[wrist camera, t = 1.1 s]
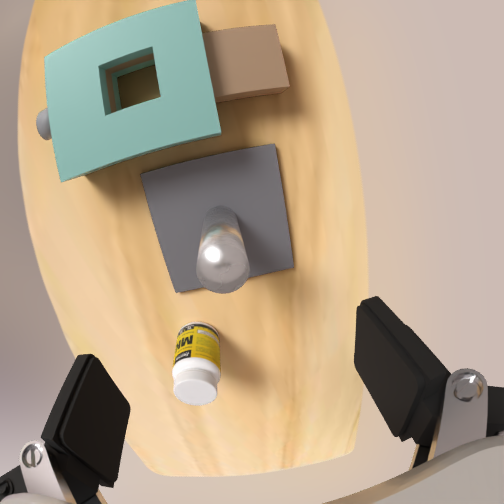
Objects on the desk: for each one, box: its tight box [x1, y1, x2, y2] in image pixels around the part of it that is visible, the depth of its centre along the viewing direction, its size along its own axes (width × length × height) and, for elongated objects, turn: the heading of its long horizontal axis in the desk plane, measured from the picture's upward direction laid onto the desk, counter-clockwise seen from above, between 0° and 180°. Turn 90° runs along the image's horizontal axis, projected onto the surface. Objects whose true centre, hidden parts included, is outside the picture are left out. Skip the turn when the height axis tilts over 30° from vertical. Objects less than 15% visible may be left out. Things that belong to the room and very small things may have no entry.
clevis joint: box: [36, 0, 290, 182], centre depth 18 cm, size 22×12×4 cm, turn 101°
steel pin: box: [196, 206, 250, 293], centre depth 20 cm, size 3×3×10 cm
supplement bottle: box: [172, 322, 221, 405], centre depth 26 cm, size 5×5×8 cm
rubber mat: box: [140, 144, 294, 293], centre depth 25 cm, size 12×12×1 cm
